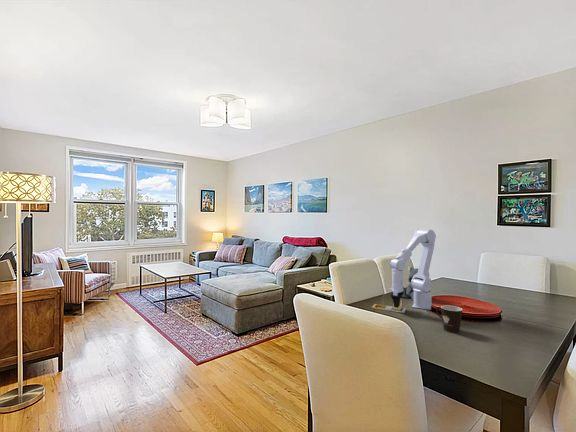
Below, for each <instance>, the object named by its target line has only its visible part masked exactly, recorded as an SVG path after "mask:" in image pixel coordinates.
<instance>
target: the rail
mask: <svg viewBox="0 0 576 432" xmlns="http://www.w3.org/2000/svg"><path fill="white" fill-rule="evenodd" d="M371 309H374V310H380V311H381V310H382V311H388V312H395V313H401V314H405V312H406V311H407V308H406V307H402V310H401V311H399V310H393V305H384V304H377V303H374V304H373V305H372V306H371Z"/></svg>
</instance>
